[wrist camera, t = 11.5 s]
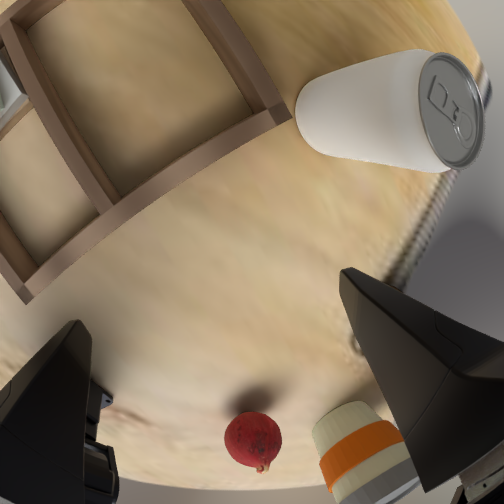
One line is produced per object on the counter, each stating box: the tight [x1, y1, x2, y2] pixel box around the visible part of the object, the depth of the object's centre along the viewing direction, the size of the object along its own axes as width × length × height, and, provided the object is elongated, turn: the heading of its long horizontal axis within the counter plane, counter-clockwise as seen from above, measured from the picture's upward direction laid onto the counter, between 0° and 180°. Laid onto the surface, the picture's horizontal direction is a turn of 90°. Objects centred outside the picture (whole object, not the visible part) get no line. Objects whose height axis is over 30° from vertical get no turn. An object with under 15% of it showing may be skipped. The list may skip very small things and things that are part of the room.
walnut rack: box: [0, 0, 293, 305], centre depth 14 cm, size 22×19×3 cm
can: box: [295, 49, 485, 173], centre depth 15 cm, size 6×6×12 cm
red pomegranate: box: [224, 412, 282, 474], centre depth 25 cm, size 6×6×8 cm
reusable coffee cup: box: [312, 401, 421, 504], centre depth 28 cm, size 13×12×15 cm
